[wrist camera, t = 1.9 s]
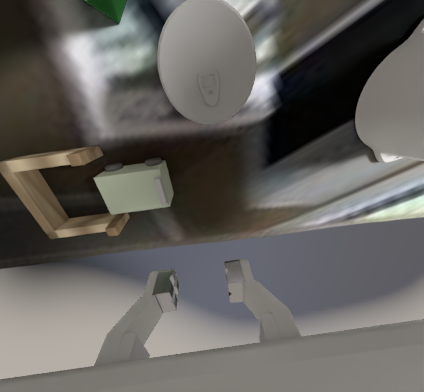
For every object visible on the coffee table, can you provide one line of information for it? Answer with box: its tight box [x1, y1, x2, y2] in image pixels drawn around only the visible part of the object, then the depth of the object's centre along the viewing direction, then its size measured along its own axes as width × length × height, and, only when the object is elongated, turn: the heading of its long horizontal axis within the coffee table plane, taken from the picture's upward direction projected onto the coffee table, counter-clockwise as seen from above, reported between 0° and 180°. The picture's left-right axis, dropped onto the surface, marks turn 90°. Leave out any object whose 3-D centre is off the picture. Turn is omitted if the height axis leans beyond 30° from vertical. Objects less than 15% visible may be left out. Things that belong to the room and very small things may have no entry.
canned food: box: [157, 0, 256, 125], centre depth 18 cm, size 8×8×11 cm
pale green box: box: [94, 158, 174, 215], centre depth 26 cm, size 9×7×6 cm
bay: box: [0, 145, 130, 239], centre depth 26 cm, size 12×13×5 cm
